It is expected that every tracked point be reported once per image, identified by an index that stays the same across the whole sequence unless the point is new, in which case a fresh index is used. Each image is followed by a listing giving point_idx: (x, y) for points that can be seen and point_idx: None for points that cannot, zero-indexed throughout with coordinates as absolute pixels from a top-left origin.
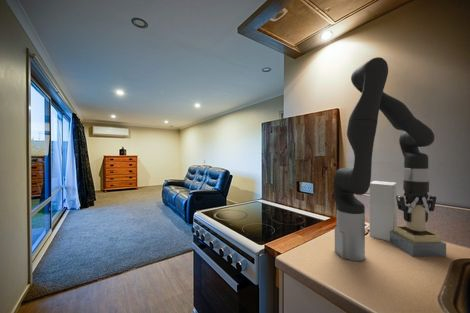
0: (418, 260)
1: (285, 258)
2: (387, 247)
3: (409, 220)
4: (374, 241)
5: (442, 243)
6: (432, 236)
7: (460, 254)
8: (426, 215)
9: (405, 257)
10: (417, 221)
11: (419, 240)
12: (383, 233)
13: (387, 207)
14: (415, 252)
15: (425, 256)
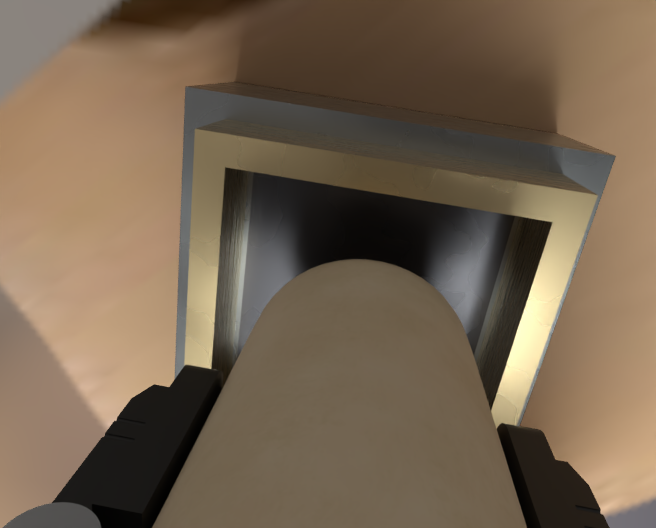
0: (580, 64)
1: None
2: (601, 321)
3: (549, 446)
4: (598, 430)
5: (230, 94)
6: (321, 147)
7: (59, 97)
8: (141, 457)
9: (644, 135)
10: (455, 369)
11: (504, 168)
12: None
13: None
14: (543, 134)
15: (432, 113)
